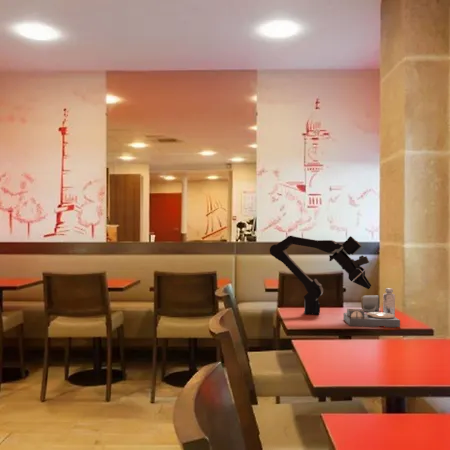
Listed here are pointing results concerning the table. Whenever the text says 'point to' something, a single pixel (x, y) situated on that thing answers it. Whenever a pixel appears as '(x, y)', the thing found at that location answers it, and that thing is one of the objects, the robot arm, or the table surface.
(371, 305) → the ceramic mug
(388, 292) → the steel weight
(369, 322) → the bench scale
